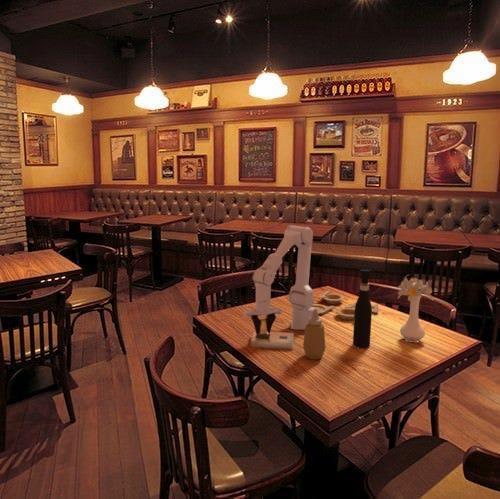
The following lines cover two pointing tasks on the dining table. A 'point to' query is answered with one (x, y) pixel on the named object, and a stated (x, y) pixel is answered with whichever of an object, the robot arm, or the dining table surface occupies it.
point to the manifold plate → (274, 340)
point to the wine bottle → (363, 313)
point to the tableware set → (343, 312)
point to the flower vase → (413, 308)
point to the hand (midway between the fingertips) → (262, 332)
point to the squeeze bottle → (314, 337)
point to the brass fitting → (263, 328)
